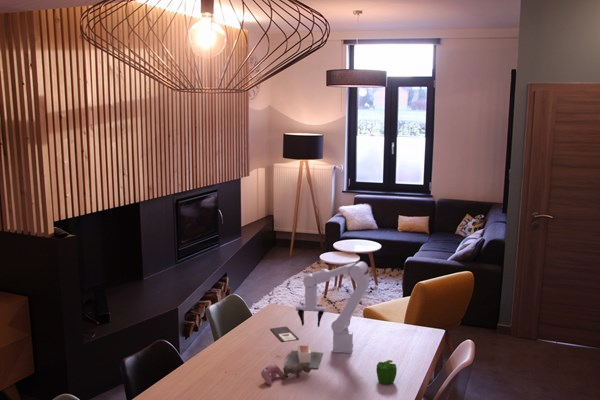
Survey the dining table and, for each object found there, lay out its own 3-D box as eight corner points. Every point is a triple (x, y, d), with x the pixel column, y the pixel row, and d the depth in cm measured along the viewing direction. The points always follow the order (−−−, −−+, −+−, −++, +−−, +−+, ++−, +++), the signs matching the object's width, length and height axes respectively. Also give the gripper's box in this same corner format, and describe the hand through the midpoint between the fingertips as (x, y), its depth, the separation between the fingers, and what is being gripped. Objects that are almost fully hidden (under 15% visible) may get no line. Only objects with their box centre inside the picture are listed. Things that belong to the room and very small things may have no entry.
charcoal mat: (323, 353, 263) (323, 352, 263) (317, 369, 247) (317, 368, 247) (291, 351, 266) (291, 350, 266) (284, 366, 249) (284, 365, 249)
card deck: (310, 362, 252) (310, 352, 252) (299, 362, 252) (299, 353, 251) (308, 354, 261) (308, 345, 260) (297, 355, 260) (297, 345, 260)
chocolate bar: (286, 326, 297) (298, 338, 281) (286, 328, 297) (298, 340, 281) (270, 328, 294) (281, 340, 277) (270, 330, 294) (281, 342, 277)
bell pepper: (371, 382, 234) (372, 359, 233) (383, 376, 240) (384, 353, 239) (387, 389, 229) (388, 365, 227) (399, 382, 234) (400, 359, 233)
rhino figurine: (314, 376, 240) (314, 362, 239) (284, 381, 235) (284, 367, 234) (310, 372, 244) (311, 359, 243) (280, 377, 239) (280, 363, 238)
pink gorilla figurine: (278, 378, 241) (272, 362, 242) (285, 376, 238) (279, 360, 239) (263, 387, 233) (257, 370, 234) (271, 385, 230) (265, 368, 231)
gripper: (326, 296, 274) (326, 323, 276) (297, 295, 277) (297, 321, 279) (325, 301, 267) (324, 328, 269) (294, 299, 270) (294, 326, 272)
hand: (310, 325), depth 274 cm, fingers open, 7 cm apart
